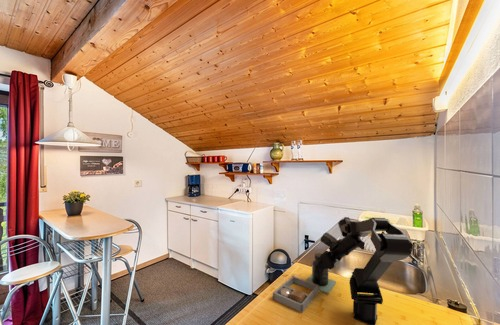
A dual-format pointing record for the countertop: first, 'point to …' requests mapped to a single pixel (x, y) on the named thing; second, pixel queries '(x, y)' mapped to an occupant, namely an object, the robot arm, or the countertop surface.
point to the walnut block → (298, 296)
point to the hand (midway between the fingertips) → (319, 264)
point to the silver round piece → (286, 292)
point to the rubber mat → (326, 288)
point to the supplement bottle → (319, 272)
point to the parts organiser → (287, 284)
